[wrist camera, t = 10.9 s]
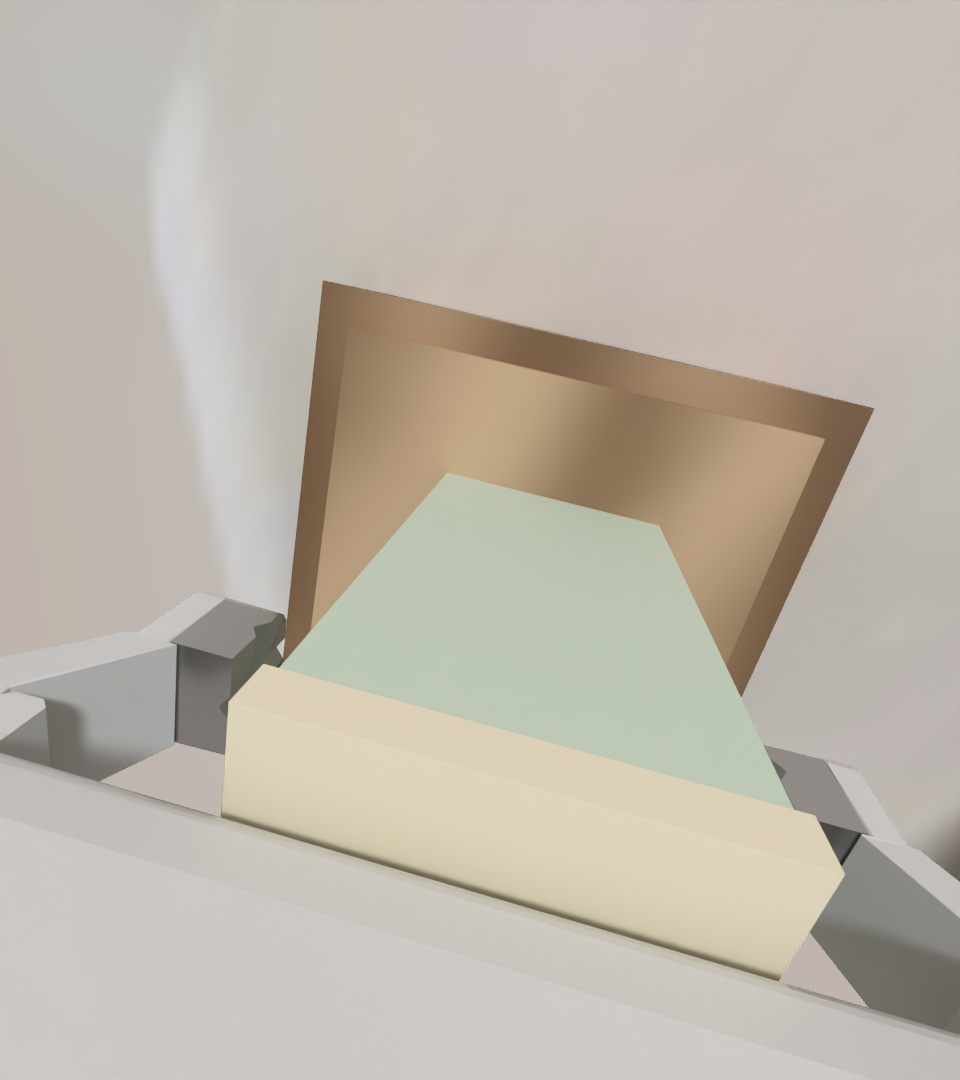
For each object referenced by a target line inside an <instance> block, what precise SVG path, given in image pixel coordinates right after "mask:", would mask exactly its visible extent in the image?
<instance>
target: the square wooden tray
mask: <svg viewBox="0 0 960 1080" xmlns="http://www.w3.org/2000/svg"><path fill="white" fill-rule="evenodd" d="M873 410H874V408H870V407H866V406H862V405H858V404H854V403H850V402H845V401H841V400H837V399H833V398H829V397H825V396H821V395H817V394H813V393H809V392H805V391H801V390H797V389H792V388H788V387H784V386H780V385H775V384H771V383H767V382H762V381H758V380H754V379H749V378H745V377H741V376H736V375H732V374H728V373H724V372H719V371H715V370H711V369H706V368H702V367H698V366H693V365H689V364H685V363H681V362H676V361H672V360H668V359H663V358H659V357H655V356H650V355H646V354H642V353H638V352H633V351H629V350H625V349H620V348H616V347H612V346H607V345H603V344H599V343H595V342H590V341H586V340H582V339H577V338H573V337H569V336H564V335H560V334H556V333H552V332H547V331H543V330H539V329H534V328H530V327H526V326H521V325H517V324H513V323H508V322H504V321H500V320H496V319H491V318H487V317H483V316H478V315H474V314H470V313H465V312H461V311H457V310H453V309H448V308H444V307H440V306H435V305H431V304H427V303H422V302H418V301H414V300H410V299H405V298H401V297H397V296H392V295H388V294H384V293H379V292H375V291H370V290H365V289H361V288H356V287H351V286H347V285H342V284H337V283H333V282H328V281H323V285H322V295H321V304H320V314H319V323H318V333H317V342H316V352H315V361H314V371H313V380H312V389H311V399H310V408H309V418H308V427H307V437H306V446H305V456H304V465H303V475H302V484H301V494H300V503H299V513H298V522H297V531H296V541H295V550H294V560H293V569H292V579H291V588H290V598H289V607H288V617H287V626H286V636H285V645H284V655H283V663H284V661H285V660H286V659H287V658H288V657H289V656H290V655H291V653H292V652H293V651H294V650H295V649H296V648H297V646H298V645H299V644H300V643H301V642H302V641H303V639H304V638H305V637H306V636H307V635H308V634H309V632H310V631H311V630H312V629H313V628H314V627H315V626H316V624H317V623H318V622H319V621H320V620H321V619H322V617H323V616H324V615H325V614H326V613H327V612H328V610H329V609H330V608H331V607H332V606H333V605H334V603H335V602H336V601H337V600H338V599H339V598H340V597H341V595H342V594H343V593H344V592H345V591H346V590H347V588H348V587H349V586H350V585H351V584H352V583H353V581H354V580H355V579H356V578H357V577H358V576H359V574H360V573H361V572H362V571H363V570H364V569H365V568H366V566H367V565H368V564H369V563H370V562H371V561H372V559H373V558H374V557H375V556H376V555H377V554H378V552H379V551H380V550H381V549H382V548H383V547H384V545H385V544H386V543H387V542H388V541H389V540H390V538H391V537H392V536H393V535H394V534H395V533H396V532H397V530H398V529H399V528H400V527H401V526H402V525H403V523H404V522H405V521H406V520H407V519H408V518H409V516H410V515H411V514H412V513H413V512H414V511H415V509H416V508H417V507H418V506H419V505H420V504H421V503H422V501H423V500H424V499H425V498H426V497H427V496H428V494H429V493H430V492H431V491H432V490H433V489H434V487H435V486H436V485H437V484H438V483H439V482H440V480H441V479H442V478H443V477H444V476H445V475H446V474H447V473H451V474H455V475H459V476H463V477H467V478H471V479H475V480H479V481H483V482H487V483H491V484H495V485H499V486H503V487H507V488H511V489H515V490H519V491H523V492H527V493H531V494H535V495H539V496H543V497H547V498H551V499H555V500H559V501H563V502H567V503H571V504H575V505H579V506H583V507H587V508H591V509H595V510H599V511H603V512H607V513H611V514H615V515H619V516H623V517H627V518H631V519H635V520H639V521H643V522H647V523H651V524H655V525H659V526H660V528H661V530H662V532H663V534H664V537H665V539H666V541H667V543H668V545H669V547H670V549H671V551H672V553H673V555H674V558H675V560H676V562H677V564H678V566H679V568H680V570H681V572H682V574H683V577H684V579H685V581H686V583H687V585H688V587H689V589H690V591H691V593H692V596H693V598H694V600H695V602H696V604H697V606H698V608H699V610H700V612H701V614H702V617H703V619H704V621H705V623H706V625H707V627H708V629H709V631H710V633H711V636H712V638H713V640H714V642H715V644H716V646H717V648H718V650H719V652H720V654H721V657H722V659H723V661H724V663H725V665H726V667H727V669H728V671H729V673H730V676H731V678H732V680H733V682H734V684H735V686H736V688H737V690H738V692H739V695H740V697H742V694H743V692H744V690H745V688H746V686H747V684H748V681H749V679H750V677H751V675H752V673H753V671H754V668H755V666H756V664H757V662H758V660H759V658H760V655H761V653H762V651H763V649H764V647H765V645H766V642H767V640H768V638H769V636H770V634H771V632H772V629H773V627H774V625H775V623H776V621H777V619H778V616H779V614H780V612H781V610H782V608H783V606H784V603H785V601H786V599H787V597H788V595H789V592H790V590H791V588H792V586H793V584H794V582H795V579H796V577H797V575H798V573H799V571H800V569H801V566H802V564H803V562H804V560H805V558H806V556H807V553H808V551H809V549H810V547H811V545H812V543H813V540H814V538H815V536H816V534H817V532H818V530H819V527H820V525H821V523H822V521H823V519H824V517H825V514H826V512H827V510H828V508H829V506H830V504H831V501H832V499H833V497H834V495H835V493H836V491H837V488H838V486H839V484H840V482H841V480H842V478H843V475H844V473H845V471H846V469H847V467H848V464H849V462H850V460H851V458H852V456H853V454H854V451H855V449H856V447H857V445H858V443H859V441H860V438H861V436H862V434H863V432H864V430H865V428H866V425H867V423H868V421H869V419H870V417H871V415H872V412H873Z"/></svg>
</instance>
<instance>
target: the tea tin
mask: <svg viewBox="0 0 960 1080" xmlns="http://www.w3.org/2000/svg"><path fill="white" fill-rule="evenodd" d="M221 818H224V819H227V820H231V821H234V822H238V823H241V824H244V825H248V826H251V827H254V828H258V829H261V830H265V831H268V832H271V833H275V834H278V835H282V836H285V837H288V838H292V839H295V840H299V841H302V842H305V843H309V844H312V845H316V846H319V847H322V848H326V849H329V850H333V851H336V852H339V853H343V854H346V855H350V856H353V857H356V858H360V859H363V860H367V861H370V862H373V863H377V864H380V865H384V866H387V867H390V868H394V869H397V870H400V871H404V872H407V873H411V874H414V875H418V876H421V877H424V878H428V879H431V880H435V881H438V882H442V883H445V884H448V885H452V886H455V887H459V888H462V889H465V890H469V891H472V892H476V893H479V894H483V895H486V896H489V897H493V898H496V899H500V900H503V901H507V902H510V903H513V904H517V905H520V906H524V907H527V908H531V909H534V910H537V911H541V912H544V913H548V914H551V915H554V916H558V917H561V918H565V919H568V920H572V921H575V922H578V923H582V924H585V925H589V926H592V927H595V928H599V929H602V930H606V931H609V932H612V933H616V934H619V935H622V936H626V937H629V938H633V939H636V940H639V941H643V942H646V943H650V944H653V945H656V946H660V947H663V948H667V949H670V950H673V951H677V952H680V953H683V954H687V955H690V956H694V957H697V958H700V959H704V960H707V961H711V962H714V963H717V964H721V965H724V966H728V967H731V968H734V969H738V970H741V971H744V972H748V973H751V974H755V975H758V976H761V977H765V978H768V979H772V980H775V981H779V980H780V978H781V976H782V975H783V973H784V972H785V970H786V968H787V967H788V965H789V964H790V962H791V961H792V959H793V957H794V956H795V954H796V953H797V951H798V949H799V948H800V946H801V945H802V943H803V941H804V940H805V938H806V936H807V935H808V933H809V932H810V930H811V929H812V927H813V925H814V924H815V922H816V921H817V919H818V917H819V916H820V914H821V913H822V911H823V909H824V908H825V906H826V905H827V903H828V901H829V900H830V898H831V897H832V895H833V893H834V892H835V890H836V889H837V887H838V885H839V884H840V882H841V881H842V879H843V878H844V876H845V873H844V871H843V869H842V867H841V865H840V863H839V861H838V859H837V857H836V855H835V853H834V851H833V849H832V847H831V845H830V843H829V841H828V840H827V838H826V836H825V834H824V832H823V830H822V828H821V826H820V824H819V822H818V820H817V818H816V816H815V815H812V814H808V813H804V812H801V811H797V810H794V808H793V806H792V804H791V802H790V800H789V798H788V796H787V794H786V791H785V789H784V787H783V785H782V783H781V781H780V779H779V777H778V775H777V772H776V770H775V768H774V766H773V764H772V762H771V760H770V758H769V756H768V754H767V751H766V749H765V747H764V745H763V743H762V741H761V739H760V737H759V735H758V732H757V730H756V728H755V726H754V724H753V722H752V720H751V718H750V716H749V713H748V711H747V709H746V707H745V705H744V703H743V701H742V699H741V697H740V695H739V692H738V690H737V688H736V686H735V684H734V682H733V680H732V678H731V676H730V673H729V671H728V669H727V667H726V665H725V663H724V661H723V659H722V657H721V654H720V652H719V650H718V648H717V646H716V644H715V642H714V640H713V638H712V636H711V633H710V631H709V629H708V627H707V625H706V623H705V621H704V619H703V617H702V614H701V612H700V610H699V608H698V606H697V604H696V602H695V600H694V598H693V596H692V593H691V591H690V589H689V587H688V585H687V583H686V581H685V579H684V577H683V574H682V572H681V570H680V568H679V566H678V564H677V562H676V560H675V558H674V555H673V553H672V551H671V549H670V547H669V545H668V543H667V541H666V539H665V537H664V534H663V532H662V530H661V528H660V526H659V525H655V524H651V523H647V522H643V521H639V520H635V519H631V518H627V517H623V516H619V515H615V514H611V513H607V512H603V511H599V510H595V509H591V508H587V507H583V506H579V505H575V504H571V503H567V502H563V501H559V500H555V499H551V498H547V497H543V496H539V495H535V494H531V493H527V492H523V491H519V490H515V489H511V488H507V487H503V486H499V485H495V484H491V483H487V482H483V481H479V480H475V479H471V478H467V477H463V476H459V475H455V474H451V473H447V474H446V475H445V476H444V477H443V478H442V479H441V480H440V482H439V483H438V484H437V485H436V486H435V487H434V489H433V490H432V491H431V492H430V493H429V494H428V496H427V497H426V498H425V499H424V500H423V501H422V503H421V504H420V505H419V506H418V507H417V508H416V509H415V511H414V512H413V513H412V514H411V515H410V516H409V518H408V519H407V520H406V521H405V522H404V523H403V525H402V526H401V527H400V528H399V529H398V530H397V532H396V533H395V534H394V535H393V536H392V537H391V538H390V540H389V541H388V542H387V543H386V544H385V545H384V547H383V548H382V549H381V550H380V551H379V552H378V554H377V555H376V556H375V557H374V558H373V559H372V561H371V562H370V563H369V564H368V565H367V566H366V568H365V569H364V570H363V571H362V572H361V573H360V574H359V576H358V577H357V578H356V579H355V580H354V581H353V583H352V584H351V585H350V586H349V587H348V588H347V590H346V591H345V592H344V593H343V594H342V595H341V597H340V598H339V599H338V600H337V601H336V602H335V603H334V605H333V606H332V607H331V608H330V609H329V610H328V612H327V613H326V614H325V615H324V616H323V617H322V619H321V620H320V621H319V622H318V623H317V624H316V626H315V627H314V628H313V629H312V630H311V631H310V632H309V634H308V635H307V636H306V637H305V638H304V639H303V641H302V642H301V643H300V644H299V645H298V646H297V648H296V649H295V650H294V651H293V652H292V653H291V655H290V656H289V657H288V658H287V659H286V660H285V661H284V663H283V664H282V665H281V666H280V667H279V668H277V667H274V666H270V665H266V664H263V665H262V666H261V667H260V668H259V669H258V670H257V671H256V672H255V674H254V675H253V676H252V677H251V678H250V679H249V680H248V681H247V682H246V683H245V684H244V685H243V687H242V688H241V689H240V690H239V691H238V692H237V693H236V694H235V695H234V696H233V697H232V699H231V700H230V701H229V704H228V719H227V734H226V749H225V764H224V779H223V793H222V808H221Z"/></svg>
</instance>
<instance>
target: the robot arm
mask: <svg viewBox="0 0 960 1080" xmlns="http://www.w3.org/2000/svg"><path fill="white" fill-rule="evenodd" d="M285 633H286V619H285V617H284V615H283V614H280V613H277V612H273V611H270V610H266V609H263V608H259V607H256V606H253V605H249V604H246V603H242V602H239V601H235V600H232V599H228V598H226V597H222V596H218V595H214V594H210V593H206V592H196V593H195V594H193V595H192V596H191V597H189V598H187V599H186V600H185V601H183V602H182V603H180V604H179V605H177V606H176V607H175V608H173V609H172V610H170V611H169V612H167V613H166V614H164V615H163V616H161V617H160V618H158V619H157V620H156V621H154V622H153V623H151V624H150V625H148V626H147V627H145V628H144V629H143V630H141V631H140V632H138V633H133V632H129V631H126V632H122V633H116V634H111V635H107V636H102V637H97V638H92V639H88V640H83V641H78V642H73V643H68V644H63V645H59V646H54V647H49V648H44V649H40V650H35V651H30V652H25V653H20V654H16V655H10V656H6V657H1V658H0V1080H960V882H959V881H958V880H957V879H955V878H954V877H953V876H952V875H950V874H949V873H948V872H947V871H945V870H944V869H943V868H941V867H940V866H939V865H938V864H936V863H935V862H934V861H933V860H931V859H930V858H929V857H927V856H926V855H925V854H924V853H922V852H921V851H920V850H918V849H914V848H911V847H908V845H907V844H906V842H905V841H904V839H903V838H902V836H901V835H900V833H899V832H898V830H897V829H896V827H895V826H894V824H893V823H892V821H891V820H890V818H889V817H888V815H887V814H886V812H885V811H884V809H883V808H882V806H881V805H880V803H879V802H878V800H877V799H876V797H875V796H874V794H873V793H872V791H871V790H870V788H869V787H868V785H867V784H866V782H865V781H864V779H863V778H862V776H861V775H860V773H859V772H858V771H857V770H855V769H854V768H852V767H851V766H850V765H845V764H841V763H837V762H832V761H828V760H824V759H820V758H814V757H810V756H806V755H802V754H798V753H794V752H790V751H786V750H782V749H778V748H774V747H770V746H766V745H764V747H765V749H766V751H767V754H768V756H769V758H770V760H771V762H772V764H773V766H774V768H775V770H776V772H777V775H778V777H779V779H780V781H781V783H782V785H783V787H784V789H785V791H786V794H787V796H788V798H789V800H790V802H791V804H792V806H793V808H794V810H797V811H801V812H804V813H808V814H812V815H815V816H816V818H817V820H818V822H819V824H820V826H821V828H822V830H823V832H824V834H825V836H826V838H827V840H828V841H829V843H830V845H831V847H832V849H833V851H834V853H835V855H836V857H837V859H838V861H839V863H840V865H841V867H842V869H843V871H844V873H845V876H844V878H843V879H842V881H841V882H840V884H839V885H838V887H837V889H836V890H835V892H834V893H833V895H832V897H831V898H830V900H829V901H828V903H827V905H826V906H825V908H824V909H823V911H822V913H821V914H820V916H819V917H818V919H817V921H816V922H815V924H814V925H813V927H812V929H811V930H810V933H811V934H812V936H813V937H814V938H815V939H816V941H817V942H818V943H819V945H820V946H821V947H822V948H823V949H824V951H825V952H826V954H827V955H828V956H829V957H830V959H831V960H832V961H833V962H834V964H835V965H836V966H837V968H838V969H839V970H840V971H841V973H842V974H843V975H844V976H845V977H846V979H847V980H848V982H849V983H850V984H851V985H852V987H853V988H854V989H855V990H856V992H857V993H858V994H859V996H860V997H861V998H862V999H863V1001H864V1002H865V1003H866V1004H867V1006H868V1007H869V1008H867V1007H863V1006H860V1005H856V1004H852V1003H849V1002H846V1001H843V1000H839V999H836V998H833V997H829V996H826V995H822V994H819V993H815V992H812V991H809V990H805V989H802V988H799V987H795V986H792V985H788V984H785V983H782V982H778V981H775V980H772V979H768V978H765V977H761V976H758V975H755V974H751V973H748V972H744V971H741V970H738V969H734V968H731V967H728V966H724V965H721V964H717V963H714V962H711V961H707V960H704V959H700V958H697V957H694V956H690V955H687V954H683V953H680V952H677V951H673V950H670V949H667V948H663V947H660V946H656V945H653V944H650V943H646V942H643V941H639V940H636V939H633V938H629V937H626V936H622V935H619V934H616V933H612V932H609V931H606V930H602V929H599V928H595V927H592V926H589V925H585V924H582V923H578V922H575V921H572V920H568V919H565V918H561V917H558V916H554V915H551V914H548V913H544V912H541V911H537V910H534V909H531V908H527V907H524V906H520V905H517V904H513V903H510V902H507V901H503V900H500V899H496V898H493V897H489V896H486V895H483V894H479V893H476V892H472V891H469V890H465V889H462V888H459V887H455V886H452V885H448V884H445V883H442V882H438V881H435V880H431V879H428V878H424V877H421V876H418V875H414V874H411V873H407V872H404V871H400V870H397V869H394V868H390V867H387V866H384V865H380V864H377V863H373V862H370V861H367V860H363V859H360V858H356V857H353V856H350V855H346V854H343V853H339V852H336V851H333V850H329V849H326V848H322V847H319V846H316V845H312V844H309V843H305V842H302V841H299V840H295V839H292V838H288V837H285V836H282V835H278V834H275V833H271V832H268V831H265V830H261V829H258V828H254V827H251V826H248V825H244V824H241V823H238V822H234V821H231V820H227V819H224V818H221V817H217V816H214V815H210V814H207V813H203V812H200V811H197V810H193V809H190V808H187V807H183V806H180V805H176V804H173V803H170V802H166V801H162V800H159V799H156V798H153V797H149V796H146V795H142V794H139V793H136V792H132V791H129V790H125V789H122V788H119V787H115V786H112V785H108V784H105V783H102V782H99V781H101V780H103V779H105V778H107V777H109V776H111V775H113V774H115V773H117V772H119V771H121V770H123V769H125V768H127V767H129V766H131V765H133V764H136V763H138V762H140V761H142V760H144V759H146V758H148V757H150V756H152V755H154V754H156V753H158V752H160V751H162V750H164V749H166V748H168V747H171V746H173V745H174V742H177V743H181V744H185V745H189V746H192V747H197V748H200V749H204V750H208V751H212V752H216V753H220V754H224V755H225V749H226V734H227V719H228V704H229V701H230V700H231V699H232V697H233V696H234V695H235V694H236V693H237V692H238V691H239V690H240V689H241V688H242V687H243V685H244V684H245V683H246V682H247V681H248V680H249V679H250V678H251V677H252V676H253V675H254V674H255V672H256V671H257V670H258V669H259V668H260V667H261V666H262V665H263V664H266V665H270V666H274V667H277V668H279V667H280V666H281V665H282V662H283V658H282V656H281V655H280V653H279V651H278V649H277V646H278V645H279V643H280V642H281V641H282V640H283V639H284V638H285Z"/></svg>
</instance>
